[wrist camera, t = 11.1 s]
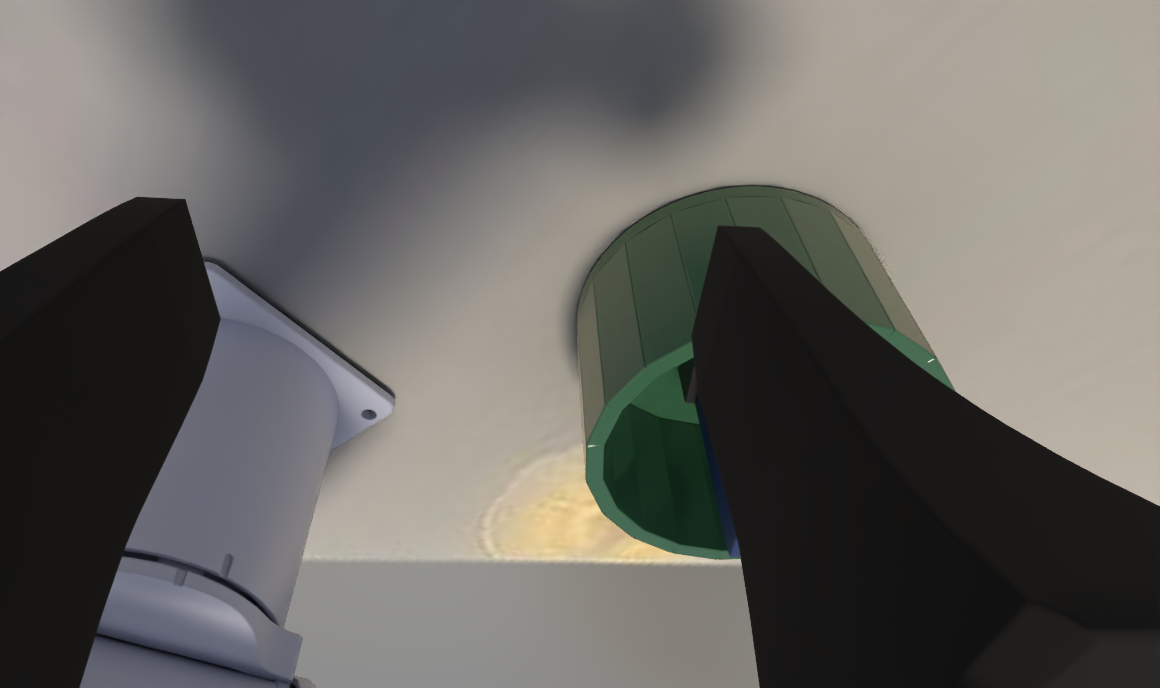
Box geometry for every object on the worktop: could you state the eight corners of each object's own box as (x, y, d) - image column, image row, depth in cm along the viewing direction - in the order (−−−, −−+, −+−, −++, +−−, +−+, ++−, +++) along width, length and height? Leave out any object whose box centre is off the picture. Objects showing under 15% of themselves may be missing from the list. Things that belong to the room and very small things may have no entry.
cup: (675, 455, 30) (700, 593, 25) (514, 298, 24) (510, 440, 20) (921, 336, 26) (1002, 473, 22) (798, 119, 21) (872, 243, 16)
